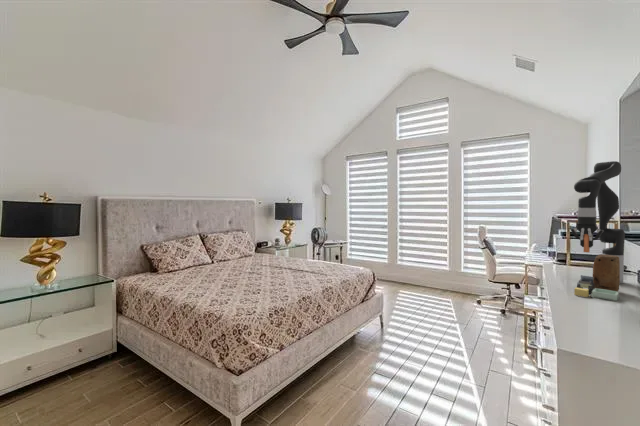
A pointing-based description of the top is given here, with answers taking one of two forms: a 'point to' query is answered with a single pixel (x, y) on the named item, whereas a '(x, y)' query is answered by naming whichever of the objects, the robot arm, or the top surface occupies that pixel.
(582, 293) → the block
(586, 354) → the top surface
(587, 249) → the pin
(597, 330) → the top surface
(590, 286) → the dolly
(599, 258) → the brown rounded block
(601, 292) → the tray
